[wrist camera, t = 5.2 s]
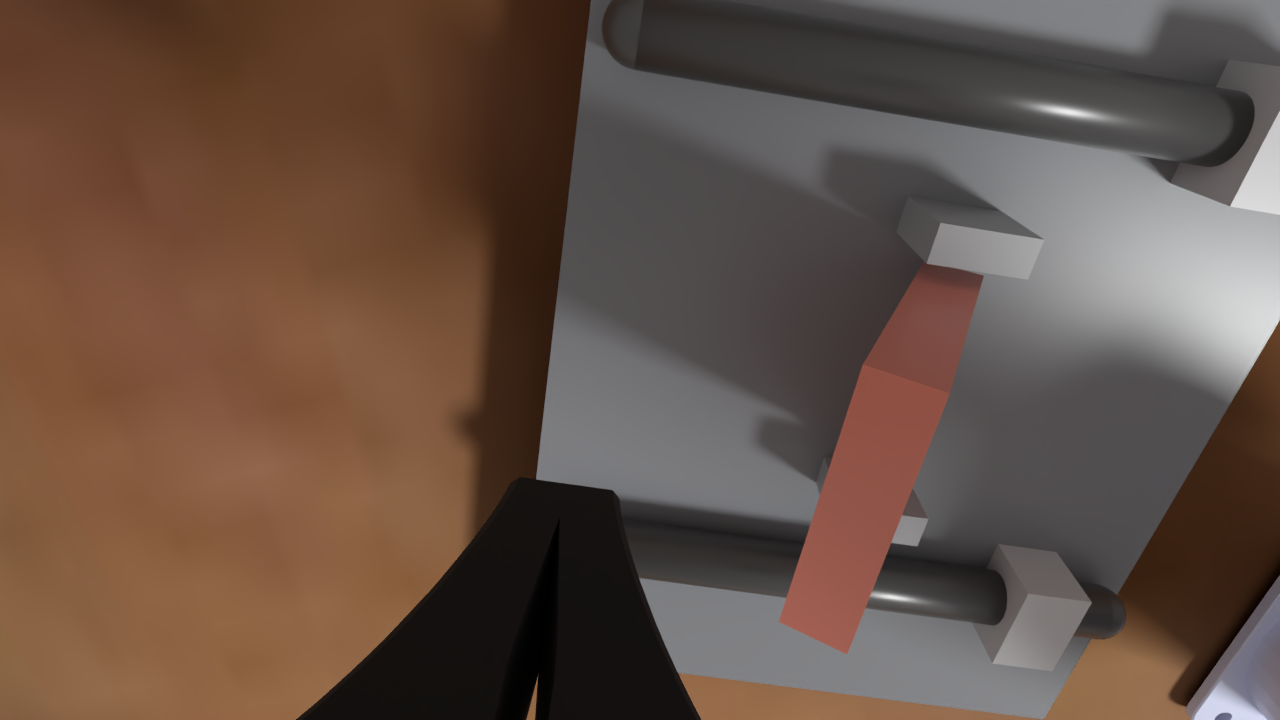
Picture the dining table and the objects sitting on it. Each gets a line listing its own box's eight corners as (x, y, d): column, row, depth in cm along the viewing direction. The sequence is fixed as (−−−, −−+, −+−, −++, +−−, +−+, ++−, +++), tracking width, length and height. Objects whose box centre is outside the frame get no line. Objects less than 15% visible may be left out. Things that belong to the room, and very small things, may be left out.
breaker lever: (983, 275, 16) (950, 393, 10) (908, 472, 18) (847, 654, 12) (925, 259, 16) (862, 364, 11) (858, 453, 18) (778, 621, 13)
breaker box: (1440, -123, 15) (1695, -159, 11) (1015, 665, 24) (1076, 782, 21) (631, -282, 14) (623, -374, 10) (526, 601, 24) (503, 711, 20)
